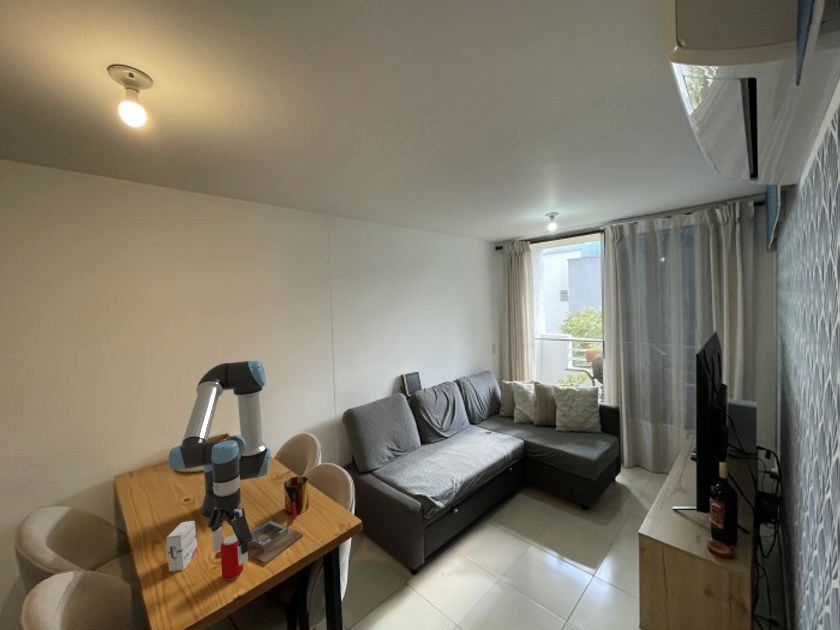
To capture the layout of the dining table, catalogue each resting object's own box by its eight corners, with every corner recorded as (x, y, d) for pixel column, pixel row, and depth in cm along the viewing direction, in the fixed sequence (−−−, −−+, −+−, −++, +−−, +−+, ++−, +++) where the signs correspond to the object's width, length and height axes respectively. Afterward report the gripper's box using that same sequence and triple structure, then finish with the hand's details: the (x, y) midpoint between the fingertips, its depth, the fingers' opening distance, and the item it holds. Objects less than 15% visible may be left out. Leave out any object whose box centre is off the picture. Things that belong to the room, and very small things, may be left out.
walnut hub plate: (230, 547, 123) (230, 544, 123) (269, 522, 137) (268, 519, 137) (265, 565, 114) (265, 562, 114) (303, 536, 127) (302, 533, 127)
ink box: (183, 553, 121) (181, 521, 121) (198, 552, 121) (196, 519, 121) (167, 572, 112) (165, 537, 112) (183, 570, 113) (181, 535, 113)
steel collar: (245, 543, 123) (245, 535, 123) (270, 526, 132) (270, 519, 132) (263, 552, 118) (263, 544, 118) (288, 534, 127) (287, 527, 127)
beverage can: (233, 566, 114) (231, 531, 113) (247, 569, 112) (246, 534, 112) (217, 580, 108) (215, 543, 108) (232, 584, 106) (230, 547, 106)
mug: (293, 523, 136) (291, 494, 136) (282, 508, 146) (280, 481, 146) (316, 513, 142) (314, 485, 142) (303, 499, 153) (302, 473, 152)
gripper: (194, 488, 112) (197, 551, 112) (239, 506, 100) (242, 577, 100) (217, 478, 118) (220, 537, 118) (262, 493, 106) (265, 560, 106)
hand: (230, 555), depth 109 cm, fingers open, 13 cm apart
